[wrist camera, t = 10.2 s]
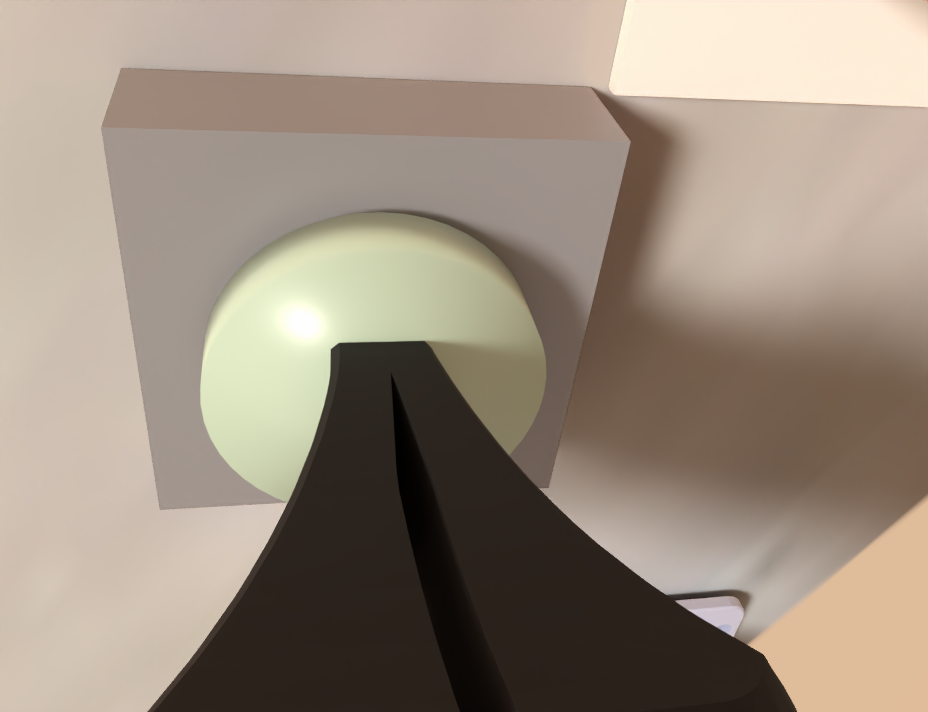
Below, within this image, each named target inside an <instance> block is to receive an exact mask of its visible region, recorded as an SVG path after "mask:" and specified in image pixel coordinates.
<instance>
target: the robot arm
mask: <svg viewBox="0 0 928 712" xmlns="http://www.w3.org/2000/svg"><path fill="white" fill-rule="evenodd" d="M744 613H745V611H744V609H743V607H742V605H741V603H740V601H739V600H738V599H737V598H735V597H732V596H721V597H710V598H698V599H687V600H675V601H674V600H673V599H671V598H670V597H668V596H667V595H665V594H664V593H662V592H661V591H659V590H658V589H656V588H655V587H653V586H652V585H651V584H649V583H648V582H646V581H645V580H644V579H642V578H641V577H640V576H638V575H637V574H636V573H634V572H633V571H632V570H631V569H629V568H628V567H627V566H626V565H624V564H623V563H622V562H620V561H619V560H618V559H617V558H615V557H614V556H613V555H611V554H610V553H609V552H608V551H606V550H605V549H604V548H602V547H601V546H600V545H599V544H597V543H596V542H595V541H594V540H593V539H592V538H590V537H589V536H588V535H587V534H586V533H585V532H584V531H583V530H581V529H580V528H579V527H578V526H577V525H576V524H575V523H573V522H572V521H571V520H570V519H569V518H568V517H567V516H566V515H565V514H564V513H563V512H562V511H561V510H560V509H559V508H558V507H557V506H556V505H555V504H554V503H553V502H552V501H551V500H550V499H549V498H548V497H547V496H546V495H545V494H544V493H543V492H542V491H541V490H540V489H539V488H538V487H537V486H536V485H535V484H534V483H533V482H532V481H531V480H530V479H529V478H528V476H527V475H526V474H525V473H524V472H523V471H522V470H521V469H520V467H519V466H518V465H517V464H516V463H515V462H514V461H513V460H512V458H511V457H510V456H509V455H508V454H507V453H506V451H505V450H504V449H503V448H502V447H501V445H500V444H499V443H498V442H497V440H496V439H495V438H494V437H493V435H492V434H491V433H490V432H489V430H488V429H487V428H486V426H485V425H484V424H483V423H482V421H481V420H480V419H479V417H478V416H477V415H476V414H475V412H474V411H473V410H472V408H471V407H470V405H469V404H468V403H467V401H466V400H465V399H464V397H463V396H462V394H461V393H460V391H459V390H458V388H457V387H456V386H455V384H454V383H453V381H452V380H451V378H450V377H449V375H448V374H447V372H446V371H445V369H444V367H443V366H442V364H441V363H440V361H439V359H438V358H437V356H436V355H435V353H434V351H433V350H432V348H431V347H430V346H429V345H428V344H427V343H426V342H425V341H395V342H347V343H338V344H337V345H335V346H334V347H333V348H332V349H331V356H330V379H329V385H328V390H327V394H326V399H325V403H324V407H323V410H322V414H321V417H320V420H319V423H318V427H317V430H316V433H315V437H314V440H313V443H312V445H311V448H310V451H309V453H308V456H307V458H306V461H305V463H304V466H303V468H302V471H301V473H300V476H299V478H298V481H297V483H296V486H295V488H294V490H293V492H292V495H291V497H290V499H289V501H288V503H287V505H286V508H285V510H284V512H283V514H282V516H281V518H280V520H279V522H278V524H277V525H276V527H275V529H274V531H273V533H272V535H271V537H270V539H269V541H268V543H267V544H266V546H265V548H264V550H263V551H262V553H261V555H260V556H259V558H258V560H257V562H256V563H255V565H254V567H253V569H252V570H251V572H250V574H249V575H248V577H247V579H246V580H245V582H244V583H243V585H242V587H241V588H240V590H239V591H238V593H237V594H236V596H235V598H234V599H233V601H232V602H231V603H230V605H229V606H228V608H227V609H226V611H225V612H224V613H223V615H222V616H221V618H220V619H219V621H218V622H217V623H216V625H215V626H214V628H213V629H212V631H211V632H210V633H209V635H208V636H207V638H206V639H205V641H204V642H203V643H202V645H201V646H200V648H199V649H198V650H197V652H196V653H195V654H194V655H193V657H192V658H191V659H190V661H189V662H188V663H187V664H186V666H185V667H184V668H183V669H182V671H181V672H180V673H179V674H178V675H177V677H176V678H175V679H174V680H173V681H172V683H171V684H170V685H169V686H168V688H167V689H166V690H165V691H164V692H163V694H162V695H161V696H160V697H159V699H158V700H157V701H156V702H155V703H154V705H153V706H152V707H151V708H150V710H149V711H148V712H797V711H796V708H795V706H794V704H793V703H792V701H791V699H790V697H789V695H788V693H787V692H786V690H785V688H784V686H783V685H782V683H781V682H780V680H779V679H778V677H777V676H776V674H775V673H774V671H773V670H772V668H771V666H770V665H769V663H768V661H767V659H766V658H765V656H764V655H763V654H762V653H760V652H758V651H757V650H755V649H753V648H751V647H750V646H748V645H746V644H745V643H743V642H741V641H739V640H738V639H736V638H734V635H735V633H736V631H737V629H738V627H739V625H740V623H741V621H742V619H743V617H744Z"/></svg>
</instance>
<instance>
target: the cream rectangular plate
mask: <svg viewBox="0 0 928 712" xmlns="http://www.w3.org/2000/svg"><path fill="white" fill-rule="evenodd" d="M608 88H609V89H610V90H611V92H612V93H613V94H614V95H625V96H652V97H678V98H704V99H731V100H757V101H783V102H810V103H836V104H862V105H888V106H915V107H928V3H927V2H925V1H923V0H627V3H626V8H625V12H624V17H623V22H622V26H621V31H620V36H619V40H618V45H617V50H616V54H615V59H614V64H613V69H612V73H611V78H610V83H609V87H608Z"/></svg>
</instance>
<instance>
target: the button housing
mask: <svg viewBox="0 0 928 712" xmlns="http://www.w3.org/2000/svg"><path fill="white" fill-rule="evenodd" d="M101 129H102V136H103V142H104V149H105V155H106V162H107V168H108V175H109V181H110V188H111V195H112V201H113V208H114V214H115V221H116V227H117V234H118V240H119V247H120V253H121V260H122V266H123V273H124V279H125V286H126V292H127V299H128V305H129V312H130V318H131V325H132V331H133V338H134V344H135V351H136V357H137V364H138V370H139V377H140V383H141V390H142V396H143V403H144V410H145V416H146V423H147V429H148V436H149V442H150V449H151V455H152V462H153V468H154V475H155V481H156V488H157V494H158V501H159V507H160V510H164V509H182V508H199V507H217V506H235V505H252V504H270V503H287V502H285V501H282V500H280V499H277V498H275V497H273V496H271V495H269V494H267V493H265V492H263V491H261V490H260V489H258V488H256V487H255V486H254V485H252V484H251V483H249V482H248V481H246V480H245V479H243V478H242V477H241V476H240V475H239V474H238V473H237V472H236V471H235V470H234V469H232V468H231V467H230V466H229V464H228V463H227V462H226V461H225V460H224V458H223V457H222V456H221V455H220V454H219V452H218V450H217V449H216V447H215V445H214V444H213V442H212V440H211V439H210V436H209V434H208V431H207V429H206V426H205V423H204V420H203V415H202V409H201V404H200V384H201V373H202V361H203V350H204V340H205V334H206V328H207V323H208V321H209V318H210V315H211V312H212V309H213V306H214V304H215V303H216V301H217V299H218V297H219V295H220V293H221V291H222V290H223V288H224V287H225V286H226V284H227V283H228V282H229V280H230V279H231V278H232V276H233V275H234V274H235V273H236V272H237V271H238V270H239V269H240V268H241V267H242V266H243V265H244V264H245V263H246V262H247V261H248V260H249V259H250V258H251V257H252V256H253V255H255V254H256V253H257V252H259V251H260V250H261V249H263V248H264V247H265V246H267V245H268V244H270V243H272V242H273V241H275V240H277V239H279V238H280V237H282V236H284V235H286V234H287V233H289V232H292V231H294V230H297V229H299V228H301V227H304V226H306V225H309V224H311V223H315V222H318V221H322V220H325V219H329V218H332V217H338V216H344V215H350V214H356V213H375V212H384V213H399V214H408V215H413V216H418V217H424V218H428V219H431V220H434V221H437V222H441V223H444V224H447V225H449V226H451V227H454V228H456V229H458V230H460V231H462V232H464V233H466V234H468V235H470V236H471V237H473V238H474V239H476V240H478V241H479V242H481V243H482V244H484V245H485V246H486V247H487V248H488V249H490V250H491V251H492V252H493V253H494V254H495V255H496V256H498V257H499V258H500V259H501V261H502V262H503V263H504V264H505V265H506V267H507V268H508V269H509V270H510V271H511V273H512V274H513V276H514V278H515V279H516V281H517V283H518V284H519V286H520V288H521V290H522V293H523V295H524V298H525V300H526V303H527V305H528V308H529V311H530V313H531V316H532V318H533V321H534V323H535V326H536V328H537V331H538V333H539V336H540V338H541V341H542V344H543V348H544V353H545V358H546V383H545V390H544V395H543V398H542V402H541V405H540V409H539V411H538V413H537V415H536V417H535V419H534V422H533V424H532V426H531V427H530V429H529V430H528V432H527V433H526V435H525V436H524V438H523V440H522V441H521V442H520V443H519V444H518V446H517V447H516V448H515V449H514V450H513V452H512V453H511V454H510V455H509V456H510V457H511V458H512V460H513V461H514V462H515V463H516V464H517V465H518V466H519V467H520V469H521V470H522V471H523V472H524V473H525V474H526V475H527V476H528V478H529V479H530V480H531V481H532V482H533V483H534V484H535V485H536V486H537V487H538V488H549V484H550V479H551V475H552V471H553V467H554V463H555V458H556V454H557V450H558V446H559V442H560V437H561V433H562V429H563V425H564V421H565V416H566V412H567V408H568V404H569V400H570V395H571V391H572V387H573V383H574V379H575V374H576V370H577V366H578V362H579V358H580V353H581V349H582V345H583V341H584V337H585V332H586V328H587V324H588V320H589V316H590V311H591V307H592V303H593V299H594V295H595V290H596V286H597V282H598V278H599V274H600V269H601V265H602V261H603V257H604V253H605V248H606V244H607V240H608V236H609V232H610V227H611V223H612V219H613V215H614V211H615V206H616V202H617V198H618V194H619V190H620V185H621V181H622V177H623V173H624V169H625V164H626V160H627V156H628V152H629V148H630V143H631V141H630V140H629V138H628V137H627V136H626V134H625V133H624V132H623V130H622V129H621V128H620V126H619V125H618V124H617V122H616V121H615V119H614V118H613V117H612V115H611V114H610V113H609V111H608V110H607V109H606V107H605V106H604V105H603V103H602V102H601V101H600V99H599V98H598V96H597V95H596V94H595V92H594V91H593V90H592V88H591V87H579V86H554V85H529V84H504V83H478V82H453V81H428V80H403V79H378V78H353V77H328V76H302V75H277V74H252V73H227V72H202V71H177V70H152V69H126V68H121V71H120V74H119V77H118V80H117V82H116V85H115V88H114V91H113V94H112V97H111V100H110V103H109V106H108V109H107V112H106V115H105V118H104V121H103V124H102V127H101Z"/></svg>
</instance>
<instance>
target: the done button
mask: <svg viewBox="0 0 928 712" xmlns="http://www.w3.org/2000/svg"><path fill="white" fill-rule="evenodd" d="M395 341H425V342H426V343H427V344H428V345H429V346H430V347H431V348H432V350H433V351H434V353H435V355H436V356H437V358H438V359H439V361H440V363H441V364H442V366H443V367H444V369H445V371H446V372H447V374H448V375H449V377H450V378H451V380H452V381H453V383H454V384H455V386H456V387H457V388H458V390H459V391H460V393H461V394H462V396H463V397H464V399H465V400H466V401H467V403H468V404H469V405H470V407H471V408H472V410H473V411H474V412H475V414H476V415H477V416H478V417H479V419H480V420H481V421H482V423H483V424H484V425H485V426H486V428H487V429H488V430H489V432H490V433H491V434H492V435H493V437H494V438H495V439H496V440H497V442H498V443H499V444H500V445H501V447H502V448H503V449H504V450H505V451H506V453H507V454H508V455H510V454H511V453H512V452H513V450H514V449H515V448H516V447H517V446H518V444H519V443H520V442H521V441H522V440H523V438H524V436H525V435H526V433H527V432H528V430H529V429H530V427H531V426H532V424H533V422H534V419H535V417H536V415H537V413H538V411H539V409H540V405H541V402H542V398H543V395H544V390H545V383H546V358H545V353H544V348H543V344H542V341H541V338H540V336H539V333H538V331H537V328H536V326H535V323H534V321H533V318H532V316H531V313H530V311H529V308H528V305H527V303H526V300H525V298H524V295H523V293H522V290H521V288H520V286H519V284H518V283H517V281H516V279H515V278H514V276H513V274H512V273H511V271H510V270H509V269H508V268H507V267H506V265H505V264H504V263H503V262H502V261H501V259H500V258H499V257H498V256H496V255H495V254H494V253H493V252H492V251H491V250H490V249H488V248H487V247H486V246H485V245H484V244H482V243H481V242H479V241H478V240H476V239H474V238H473V237H471V236H470V235H468V234H466V233H464V232H462V231H460V230H458V229H456V228H454V227H451V226H449V225H447V224H444V223H441V222H437V221H434V220H431V219H428V218H424V217H418V216H413V215H408V214H399V213H384V212H375V213H356V214H350V215H344V216H338V217H332V218H329V219H325V220H322V221H318V222H315V223H311V224H309V225H306V226H304V227H301V228H299V229H297V230H294V231H292V232H289V233H287V234H286V235H284V236H282V237H280V238H279V239H277V240H275V241H273V242H272V243H270V244H268V245H267V246H265V247H264V248H263V249H261V250H260V251H259V252H257V253H256V254H255V255H253V256H252V257H251V258H250V259H249V260H248V261H247V262H246V263H245V264H244V265H243V266H242V267H241V268H240V269H239V270H238V271H237V272H236V273H235V274H234V275H233V276H232V278H231V279H230V280H229V282H228V283H227V284H226V286H225V287H224V288H223V290H222V291H221V293H220V295H219V297H218V299H217V301H216V303H215V304H214V306H213V309H212V312H211V315H210V318H209V321H208V323H207V328H206V334H205V340H204V350H203V361H202V373H201V384H200V404H201V409H202V415H203V420H204V423H205V426H206V429H207V431H208V434H209V436H210V439H211V440H212V442H213V444H214V445H215V447H216V449H217V450H218V452H219V454H220V455H221V456H222V457H223V458H224V460H225V461H226V462H227V463H228V464H229V466H230V467H231V468H232V469H234V470H235V471H236V472H237V473H238V474H239V475H240V476H241V477H242V478H243V479H245V480H246V481H248V482H249V483H251V484H252V485H254V486H255V487H256V488H258V489H260V490H261V491H263V492H265V493H267V494H269V495H271V496H273V497H275V498H277V499H280V500H282V501H285V502H287V503H288V501H289V499H290V497H291V495H292V492H293V490H294V488H295V486H296V483H297V481H298V478H299V476H300V473H301V471H302V468H303V466H304V463H305V461H306V458H307V456H308V453H309V451H310V448H311V445H312V443H313V440H314V437H315V433H316V430H317V427H318V423H319V420H320V417H321V414H322V410H323V407H324V403H325V399H326V394H327V390H328V385H329V379H330V356H331V349H332V348H333V347H334V346H335V345H337V344H338V343H347V342H395Z"/></svg>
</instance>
